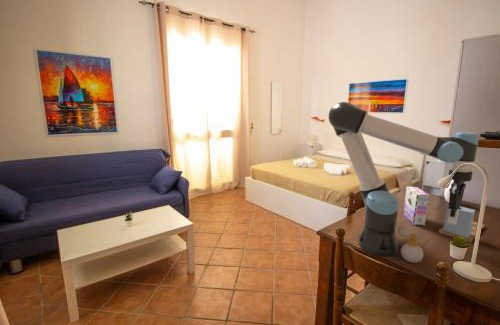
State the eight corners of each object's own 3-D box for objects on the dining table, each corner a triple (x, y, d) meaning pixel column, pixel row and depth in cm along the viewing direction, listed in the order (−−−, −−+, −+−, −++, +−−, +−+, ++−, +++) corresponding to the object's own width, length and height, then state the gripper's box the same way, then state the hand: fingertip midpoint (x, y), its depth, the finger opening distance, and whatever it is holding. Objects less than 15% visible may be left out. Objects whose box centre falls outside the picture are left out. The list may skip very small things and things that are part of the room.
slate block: (467, 238, 115) (472, 212, 112) (443, 230, 122) (447, 206, 119) (470, 234, 118) (475, 210, 115) (447, 227, 125) (450, 204, 122)
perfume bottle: (420, 268, 96) (424, 239, 93) (391, 259, 102) (394, 231, 99) (423, 259, 101) (427, 231, 99) (395, 251, 108) (399, 224, 105)
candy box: (425, 226, 129) (430, 195, 126) (412, 225, 130) (416, 194, 127) (414, 214, 142) (418, 186, 139) (402, 214, 143) (406, 185, 140)
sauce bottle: (449, 205, 154) (453, 176, 151) (440, 201, 162) (444, 173, 158) (462, 205, 154) (467, 176, 150) (452, 201, 162) (457, 173, 158)
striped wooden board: (470, 242, 113) (471, 240, 113) (438, 232, 123) (439, 230, 122) (484, 226, 128) (484, 224, 127) (454, 218, 137) (454, 216, 137)
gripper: (468, 174, 99) (458, 230, 104) (476, 169, 107) (467, 221, 112) (444, 170, 105) (436, 224, 110) (454, 166, 113) (446, 216, 118)
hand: (451, 223), depth 111 cm, fingers closed
